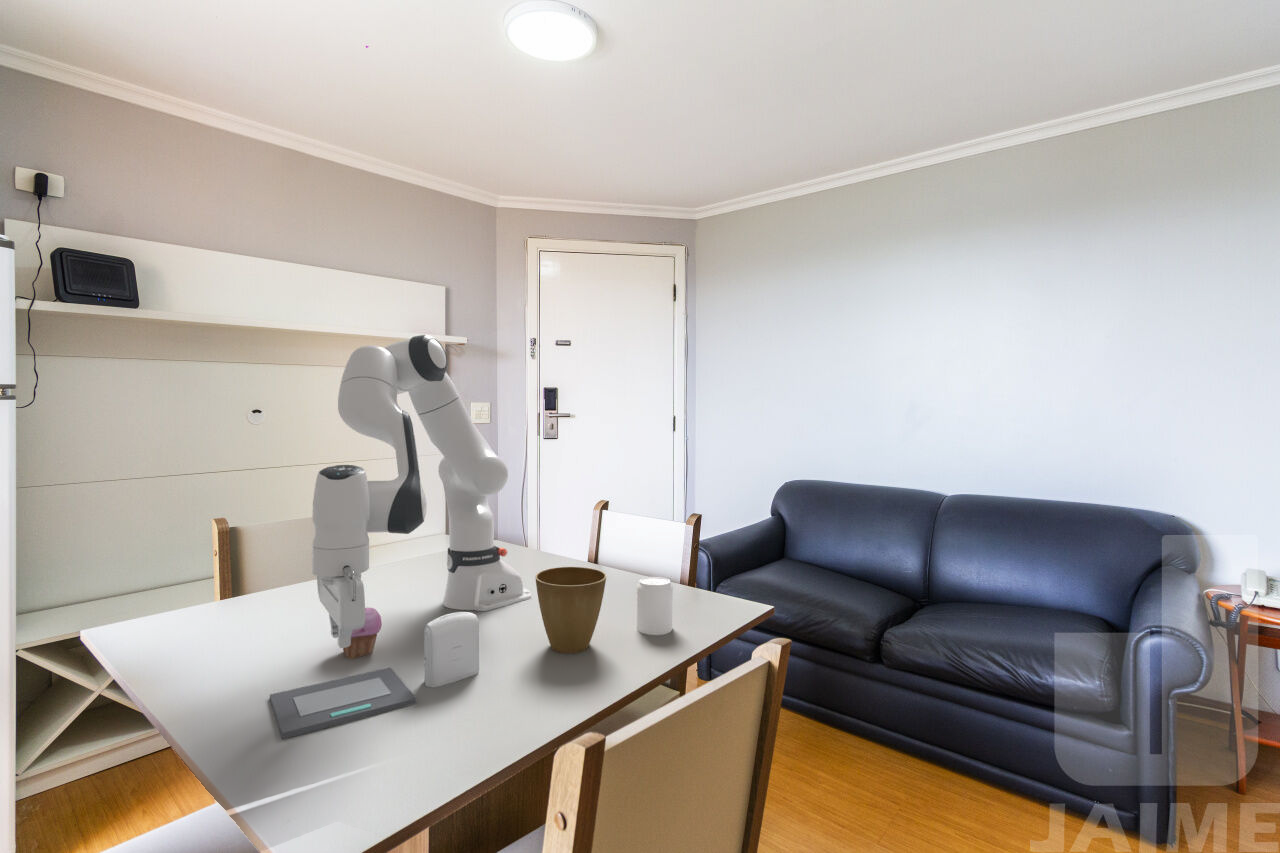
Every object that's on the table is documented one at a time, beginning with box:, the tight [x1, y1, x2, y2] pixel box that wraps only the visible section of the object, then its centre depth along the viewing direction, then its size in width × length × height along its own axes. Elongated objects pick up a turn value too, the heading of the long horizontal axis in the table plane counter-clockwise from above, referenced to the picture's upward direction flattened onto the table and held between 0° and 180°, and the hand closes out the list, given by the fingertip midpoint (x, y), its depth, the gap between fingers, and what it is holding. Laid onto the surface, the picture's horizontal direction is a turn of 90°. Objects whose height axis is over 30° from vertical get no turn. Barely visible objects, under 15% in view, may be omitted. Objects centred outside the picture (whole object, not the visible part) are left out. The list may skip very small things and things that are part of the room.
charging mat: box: [269, 667, 417, 740], centre depth 107 cm, size 20×16×1 cm
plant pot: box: [534, 566, 607, 655], centre depth 132 cm, size 15×15×16 cm
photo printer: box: [423, 611, 480, 688], centre depth 116 cm, size 10×4×12 cm, turn 132°
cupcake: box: [342, 606, 383, 660], centre depth 127 cm, size 9×9×10 cm
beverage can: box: [636, 576, 673, 636], centre depth 143 cm, size 8×8×12 cm
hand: (340, 641), depth 107 cm, fingers open, 4 cm apart
